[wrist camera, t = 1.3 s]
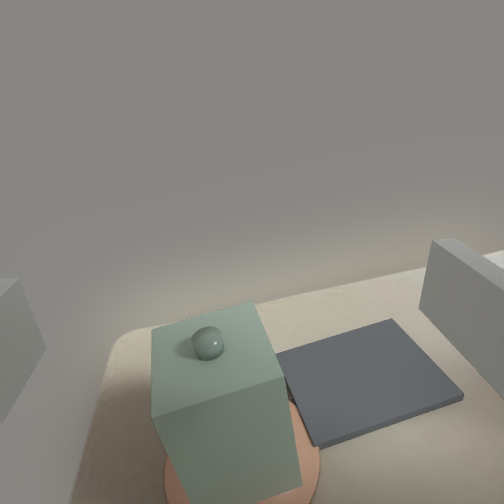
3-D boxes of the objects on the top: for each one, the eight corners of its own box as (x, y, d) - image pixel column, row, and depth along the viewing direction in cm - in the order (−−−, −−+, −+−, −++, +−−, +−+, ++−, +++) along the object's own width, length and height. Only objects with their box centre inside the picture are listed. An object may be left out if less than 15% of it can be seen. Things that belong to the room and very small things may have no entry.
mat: (391, 323, 41) (391, 318, 41) (463, 399, 32) (464, 393, 31) (276, 359, 39) (275, 353, 39) (315, 451, 30) (314, 445, 29)
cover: (272, 401, 34) (250, 288, 28) (302, 485, 27) (281, 361, 21) (190, 428, 33) (146, 317, 27) (199, 523, 26) (144, 403, 20)
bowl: (289, 378, 37) (284, 347, 35) (349, 513, 26) (347, 480, 24) (164, 417, 35) (151, 388, 33) (169, 582, 24) (149, 552, 22)
